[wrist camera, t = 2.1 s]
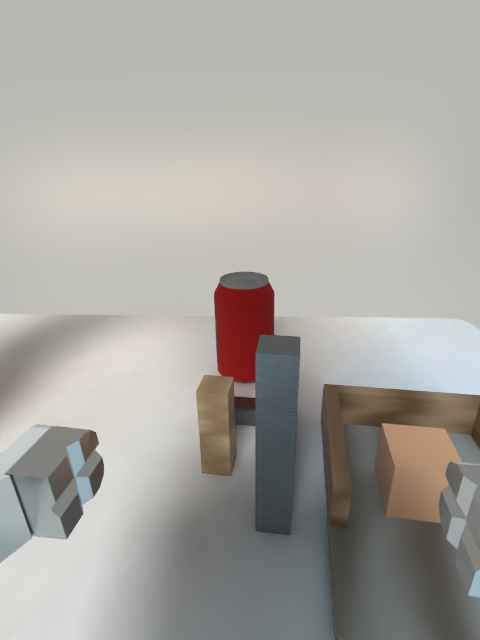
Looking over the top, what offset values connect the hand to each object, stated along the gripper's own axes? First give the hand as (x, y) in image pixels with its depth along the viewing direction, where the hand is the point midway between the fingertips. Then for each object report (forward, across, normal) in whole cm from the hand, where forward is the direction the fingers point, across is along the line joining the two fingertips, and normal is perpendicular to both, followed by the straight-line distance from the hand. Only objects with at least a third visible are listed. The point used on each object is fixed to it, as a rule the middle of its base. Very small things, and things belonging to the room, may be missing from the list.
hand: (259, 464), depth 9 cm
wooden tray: (+15, -10, +17) cm, 25 cm away
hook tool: (+18, +3, +17) cm, 25 cm away
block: (+15, -10, +16) cm, 24 cm away
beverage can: (+32, +6, +17) cm, 37 cm away
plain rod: (+17, +6, +17) cm, 24 cm away
